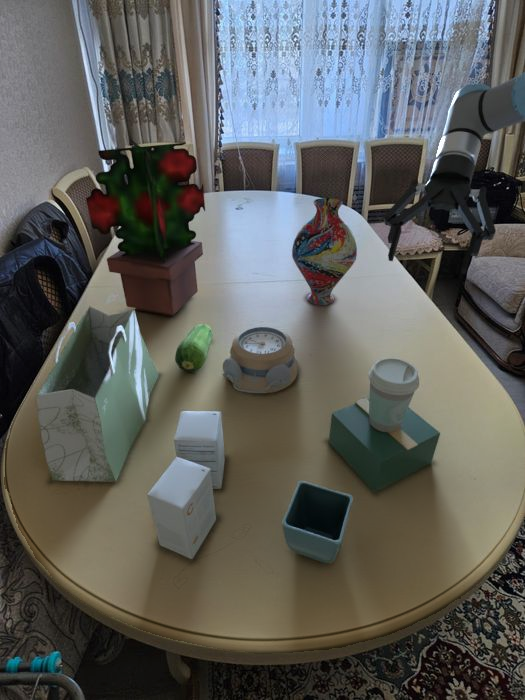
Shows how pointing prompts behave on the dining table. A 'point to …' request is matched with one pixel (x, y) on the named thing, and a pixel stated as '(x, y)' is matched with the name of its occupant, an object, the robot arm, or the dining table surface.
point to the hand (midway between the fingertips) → (426, 264)
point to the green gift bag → (95, 397)
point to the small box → (183, 506)
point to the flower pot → (316, 521)
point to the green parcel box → (381, 445)
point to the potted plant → (151, 224)
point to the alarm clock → (261, 361)
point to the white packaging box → (202, 442)
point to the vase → (324, 250)
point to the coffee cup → (391, 392)
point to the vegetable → (194, 348)
